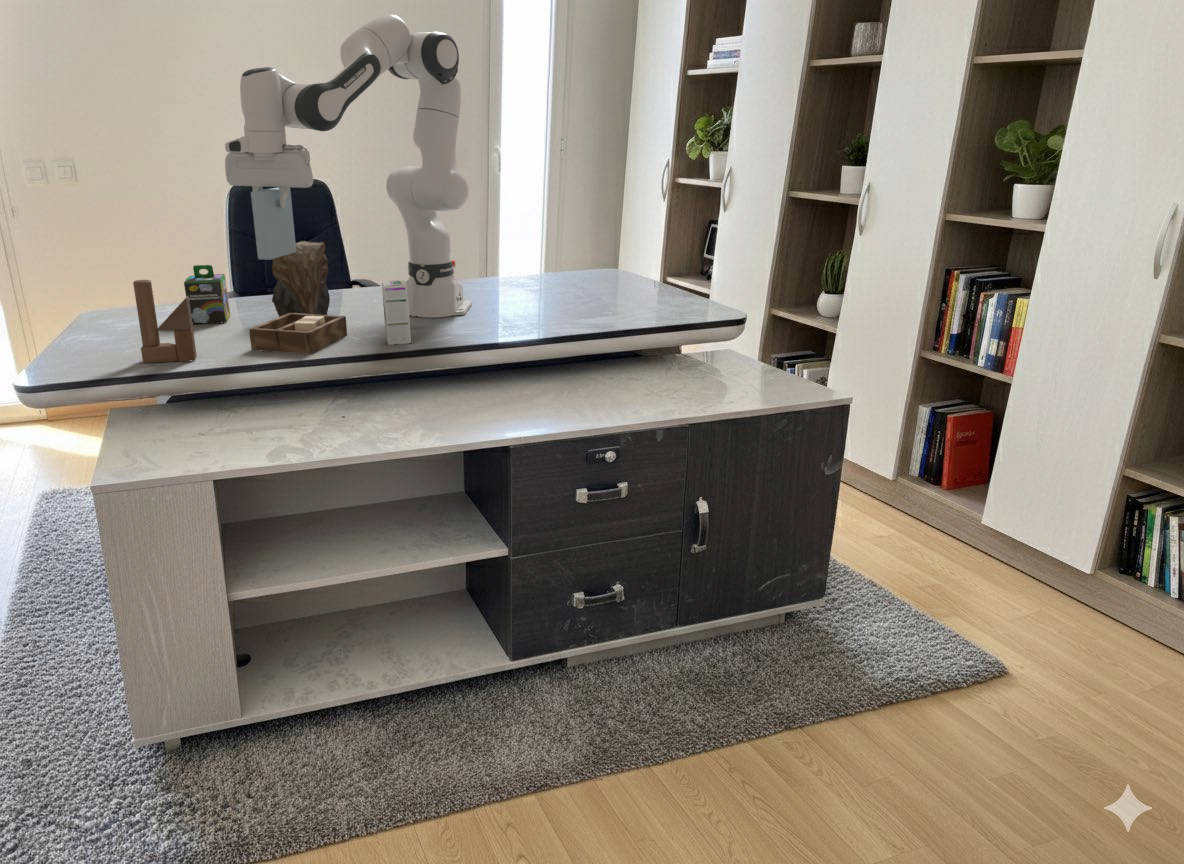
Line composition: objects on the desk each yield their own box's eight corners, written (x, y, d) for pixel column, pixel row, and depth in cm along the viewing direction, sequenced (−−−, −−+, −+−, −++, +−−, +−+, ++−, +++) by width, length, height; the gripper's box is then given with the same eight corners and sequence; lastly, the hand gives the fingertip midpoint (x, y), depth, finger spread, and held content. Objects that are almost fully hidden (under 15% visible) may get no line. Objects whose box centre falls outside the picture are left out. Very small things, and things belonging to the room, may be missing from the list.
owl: (272, 320, 247) (264, 244, 240) (301, 310, 258) (294, 238, 252) (312, 324, 243) (305, 247, 236) (340, 314, 254) (334, 240, 248)
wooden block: (195, 361, 208) (184, 281, 202) (142, 363, 205) (130, 282, 199) (197, 357, 211) (186, 278, 205) (145, 359, 208) (133, 279, 202)
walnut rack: (291, 332, 234) (289, 312, 233) (347, 335, 231) (345, 316, 230) (251, 349, 217) (249, 329, 216) (311, 354, 214) (309, 333, 213)
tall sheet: (285, 251, 224) (278, 187, 219) (296, 251, 223) (290, 187, 218) (258, 259, 213) (250, 191, 208) (269, 259, 212) (262, 192, 207)
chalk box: (230, 316, 251) (224, 261, 246) (226, 323, 243) (219, 266, 238) (194, 317, 249) (187, 262, 244) (188, 325, 241) (181, 267, 236)
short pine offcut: (306, 323, 226) (305, 315, 225) (325, 324, 226) (324, 316, 225) (295, 331, 219) (294, 322, 218) (314, 331, 218) (313, 323, 218)
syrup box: (411, 343, 225) (408, 284, 220) (386, 345, 223) (383, 285, 218) (409, 338, 230) (406, 280, 225) (384, 339, 228) (381, 280, 223)
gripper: (315, 144, 211) (320, 206, 215) (233, 142, 215) (241, 204, 219) (301, 145, 205) (307, 209, 210) (218, 144, 209) (225, 206, 214)
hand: (272, 206), depth 214 cm, fingers closed on tall sheet, 3 cm apart
